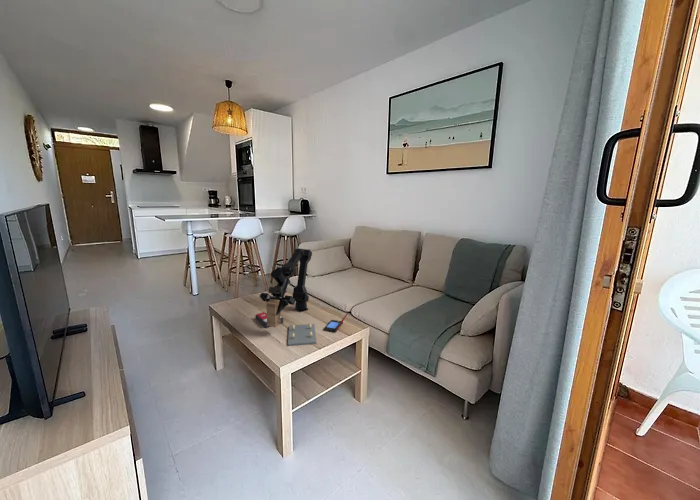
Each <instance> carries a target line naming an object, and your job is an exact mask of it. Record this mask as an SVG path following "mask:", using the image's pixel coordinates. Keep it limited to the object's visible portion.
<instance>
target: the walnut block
mask: <svg viewBox="0 0 700 500" xmlns="http://www.w3.org/2000/svg"><path fill="white" fill-rule="evenodd" d="M265 303H266V311H267V326H271V327H272V328H277V327H278V326H279V325H281V324H280V323H281V320H280V316H281V312H280V313H279V314H278V315H277V314H276V313H277V309H278V307H279V304H280V300H274V299H271V300H270V301H268V302H265ZM271 327H270V328H271Z"/></svg>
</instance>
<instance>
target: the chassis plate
mask: <svg viewBox="0 0 700 500" xmlns="http://www.w3.org/2000/svg"><path fill="white" fill-rule="evenodd" d="M315 326H316V324H315V323H309V324H297V325H296V324H293V325H289V326H288V336H287V337H288V339H287V340H288V341H287V347H291V346H292V347H293V346H294V347H295V346H305V345H306V346H307V345H316V344H317V336H316V335H317V334H316V327H315Z"/></svg>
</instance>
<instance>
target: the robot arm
mask: <svg viewBox="0 0 700 500" xmlns="http://www.w3.org/2000/svg"><path fill="white" fill-rule="evenodd" d="M312 256H313V252H312V251H311V249H305V248H295V250H294V252H293V254H292V255H291V256H290V258H289V260H288V261H287V262H286V263H284V264H283V265H282V266H281V267H280V266H277V267H276V269H275V268H274V269H273V270H272V271H271V273H270V276H271V277H272V279H273V281H275V282H276V285H275V286H274V287H273V286H269V287H268V292H261V293H260V294H259V298H260V299H261V300H262V301H264V302H265V303H267V302H268V301H270V300H271V299H274V300H280V304H279V307H278V309H277V313H276V314H277V315H278V314H279V313H280V314H281V312H282V310H284V309H285V308H286V307H288V306H290V305H293V306H295V307H294V310H295V311H297V312H299V313H302V312H305V311H307V310H309V307H308V305H307V304H308V302H309V299H310V295H308V294H309V293H307V292H308V291H307V287H306V278H307V271H308V265H309V262H310V261H311V259H312ZM298 263H299V268H298V269H299V270H298V277H297V283H296V286H295V287H293V291H292V295H285V294H287V292H288V290H287V289H288V286H289V284H291V280H290V278H293V276H294V275H295V272H296V266H297V265H298Z"/></svg>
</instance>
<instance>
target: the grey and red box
mask: <svg viewBox="0 0 700 500" xmlns="http://www.w3.org/2000/svg"><path fill="white" fill-rule="evenodd" d="M254 316H255V320H256V321H257V322H258V323H259V324H260V325H262V327H263V328H264V329H268V328H271V326H267V310H266V311H265V312H260V313H256V314H255V315H254ZM280 320H281V323H280V324H279V325H282V324H284V317H283V316H281V315H280Z"/></svg>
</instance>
